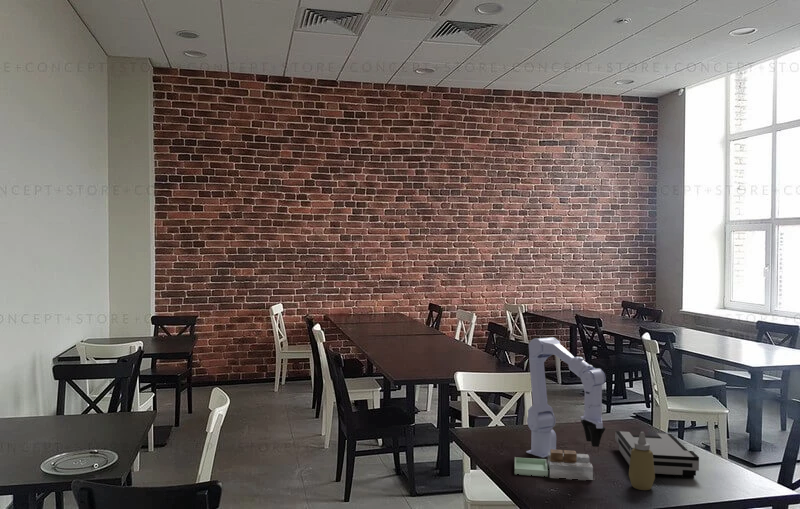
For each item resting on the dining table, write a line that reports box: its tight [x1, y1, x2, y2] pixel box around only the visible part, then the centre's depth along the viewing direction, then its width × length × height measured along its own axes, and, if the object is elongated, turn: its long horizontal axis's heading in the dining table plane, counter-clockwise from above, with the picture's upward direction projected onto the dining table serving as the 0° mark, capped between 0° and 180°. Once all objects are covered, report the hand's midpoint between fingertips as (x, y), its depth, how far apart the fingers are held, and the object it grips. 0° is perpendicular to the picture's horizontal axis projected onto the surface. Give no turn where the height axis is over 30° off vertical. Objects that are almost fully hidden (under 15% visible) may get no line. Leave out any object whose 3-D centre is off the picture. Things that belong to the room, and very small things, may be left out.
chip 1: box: [550, 448, 564, 462], centre depth 217 cm, size 4×4×4 cm
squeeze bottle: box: [628, 431, 656, 491], centre depth 203 cm, size 8×8×18 cm
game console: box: [614, 430, 700, 479], centre depth 227 cm, size 21×32×8 cm, turn 172°
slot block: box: [547, 452, 594, 481], centre depth 217 cm, size 14×14×4 cm
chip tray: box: [514, 456, 549, 478], centre depth 219 cm, size 11×12×2 cm
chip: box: [563, 449, 578, 463], centre depth 217 cm, size 4×4×4 cm
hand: (592, 443), depth 215 cm, fingers open, 5 cm apart
